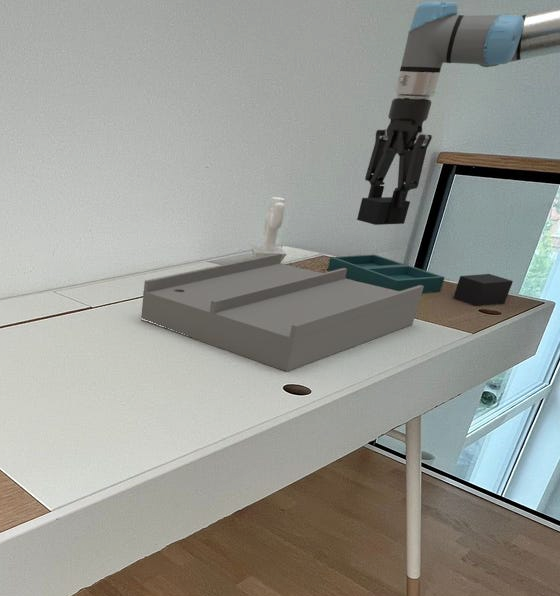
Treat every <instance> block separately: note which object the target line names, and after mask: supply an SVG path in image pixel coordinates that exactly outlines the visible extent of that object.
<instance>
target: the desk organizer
mask: <svg viewBox="0 0 560 596" xmlns="http://www.w3.org/2000/svg"><path fill="white" fill-rule="evenodd" d="M281 256H282V254H280V253H278V254H273V255H268V256H263V257H258V258H254V257H252V258H248V259H245V260H239V261H234V262H230V263H225V264H220V265H216V266H210V267H206V268H201V269H195V270H191V271H186V272H180V273H175V274H171V275H165V276H162V277H161V276H160V277H156V278H151V279H146V280H144V282H143V283H144V284H143V292H142V306H141V316H140V317H141V318H143V319H145V320H148V321H151V322H153V323H156V324H158V325H161V326H164V327H166V328H169V329H172V330H174V331H177V332H180V333H183V334H185V335H188V336H190V337H192V338H191V339H193V338H195V339H194V340H196V339H197V340H196V341H199V340H200V341H199V342H201V341H202V343H204V342H205V344H207V345H210V346H213V347H215V348H218V349H222V350H224V351H227V352H230V353H232V354H233V353H234V354H235V355H239V356H241V357H244V358H247V359H250V360H253V361H256V362H259V363H261V364H264V365H267V366H270V367H272V368H275V369H278V370H281V371H284V372H286V373H287V372H290V371H293V370H296V369H298V368H300V367H303V366H306V365H308V364H312V363H315V362H317V361H320V360H321V359H325V358H328V357H330V356H334V355H335V354H338V353H340V352H343V351H346V350H348V349H352V348H354V347H356V346H357V347H358V346H359V345H362V344H365V343H367V342H370V341H373V340H375V339H379V338H380V337H383V336H387V335H389V334H391V333H394V332H397V331H399V330H401V329H402V330H403V329H405V328H407V327H410V326H412V325H413V324H414V321H415V318H416V315H417V311H418V309H419V305H420V302H421V299H422V294H423V293H422V291H423V288H424V286H421V285H419V286H415V287H412V288H409V289H406V290H403V291H395V290H391V289H387V288H383V287H379V286H374V285H370V284H366V283H362V282H357V281H354V280H352V279H349V278H347V277H346V272H347V269H346V268H342V269H338V270H334V271H326V272H320V271H315V270H311V269H306V268H303V267H298V266H294V265H289V264H285V263H282V261H281ZM280 262H281V263H280ZM141 318H140V319H141ZM190 337H189V338H190Z"/></svg>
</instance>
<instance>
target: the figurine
mask: <svg viewBox="0 0 560 596" xmlns="http://www.w3.org/2000/svg"><path fill="white" fill-rule="evenodd" d="M269 202H270V203H269V204H268V205H269V206H268V212H267V214H266V216H265V219H264V224H263V225H264V227H263V235H264V241H263V245H261V246H260V245H259V246H258V245H250V248H251V252H252V256H253V258H258V257H263V256H268V255H273V254H278V253H280V254H282V256H281V262H280V263H281V264H282V262H283V260H284V259H285V257H286V256H287V252H286V251H285V250H284V249H283V248H282V247H281V246H276V243H277V237H278V233H279V229H280V228H281V227H282V224H283V220H284V215H285V209H286V205H285V198H283V197H279V196H271V197H270V201H269Z"/></svg>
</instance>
